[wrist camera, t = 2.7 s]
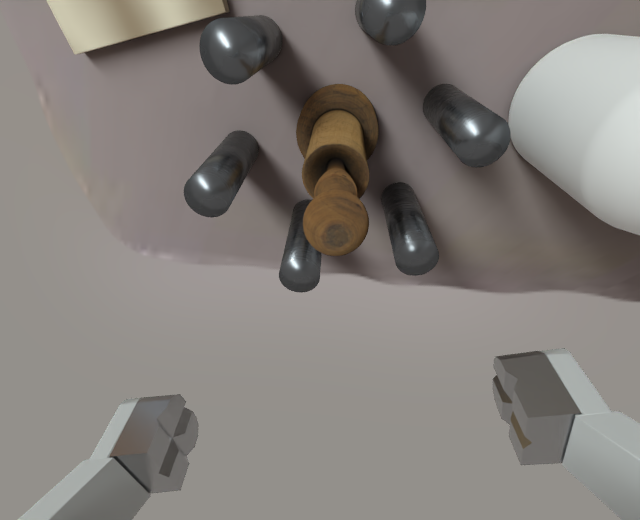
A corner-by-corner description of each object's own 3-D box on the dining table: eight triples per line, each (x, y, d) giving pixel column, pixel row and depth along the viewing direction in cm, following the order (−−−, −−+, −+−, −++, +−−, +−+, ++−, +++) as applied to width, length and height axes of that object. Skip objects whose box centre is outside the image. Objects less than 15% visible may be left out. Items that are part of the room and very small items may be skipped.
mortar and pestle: (297, 82, 29) (253, 160, 14) (380, 84, 29) (425, 165, 14) (299, 164, 33) (266, 295, 18) (372, 166, 32) (401, 300, 17)
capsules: (460, -41, 24) (523, -67, 16) (462, 201, 34) (502, 262, 26) (182, 36, 27) (115, 47, 19) (256, 237, 37) (233, 302, 29)
